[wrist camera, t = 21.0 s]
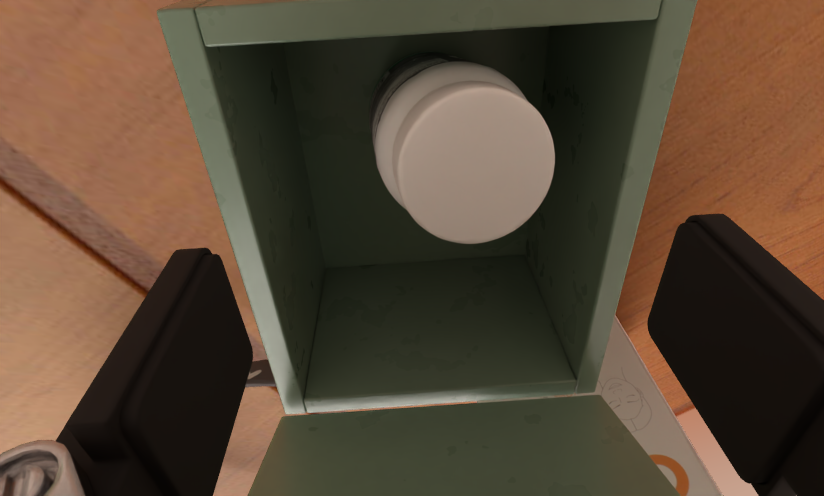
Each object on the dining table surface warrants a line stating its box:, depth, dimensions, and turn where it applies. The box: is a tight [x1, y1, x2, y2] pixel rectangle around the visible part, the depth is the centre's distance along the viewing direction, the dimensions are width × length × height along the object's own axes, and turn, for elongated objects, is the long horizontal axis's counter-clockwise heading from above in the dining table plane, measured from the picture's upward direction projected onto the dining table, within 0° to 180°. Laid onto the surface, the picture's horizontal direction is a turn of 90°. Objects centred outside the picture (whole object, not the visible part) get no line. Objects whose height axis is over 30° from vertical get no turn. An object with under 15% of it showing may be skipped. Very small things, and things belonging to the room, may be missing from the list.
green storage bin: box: [157, 0, 697, 414], centre depth 17 cm, size 14×12×9 cm
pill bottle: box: [369, 52, 555, 244], centre depth 15 cm, size 5×5×8 cm
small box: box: [477, 315, 723, 496], centre depth 23 cm, size 8×6×13 cm
